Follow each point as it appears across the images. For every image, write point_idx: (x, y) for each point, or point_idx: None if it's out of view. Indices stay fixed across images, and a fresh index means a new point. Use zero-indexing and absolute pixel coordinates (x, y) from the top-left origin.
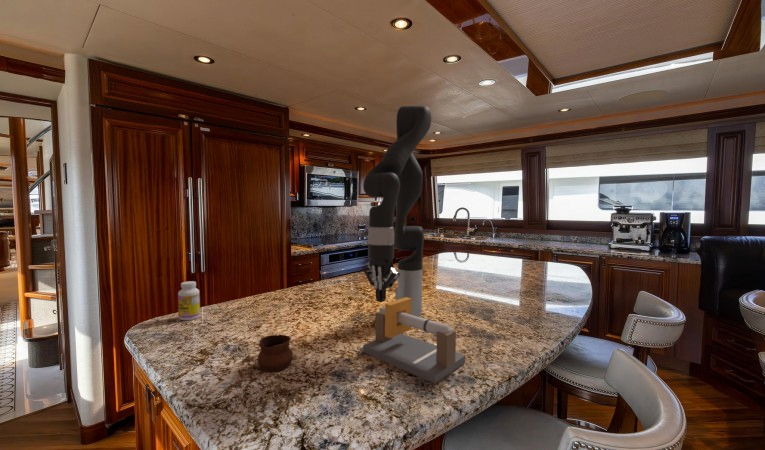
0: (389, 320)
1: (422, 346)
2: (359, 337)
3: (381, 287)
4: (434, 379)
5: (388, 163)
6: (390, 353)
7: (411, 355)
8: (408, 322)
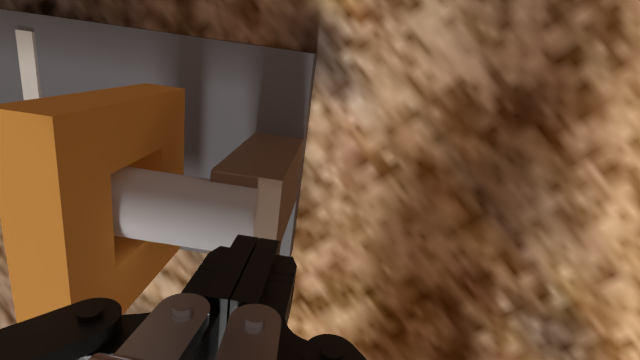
0: (92, 92)
1: None
2: (424, 170)
3: (158, 310)
4: None
5: None
6: (159, 57)
7: None
8: None
